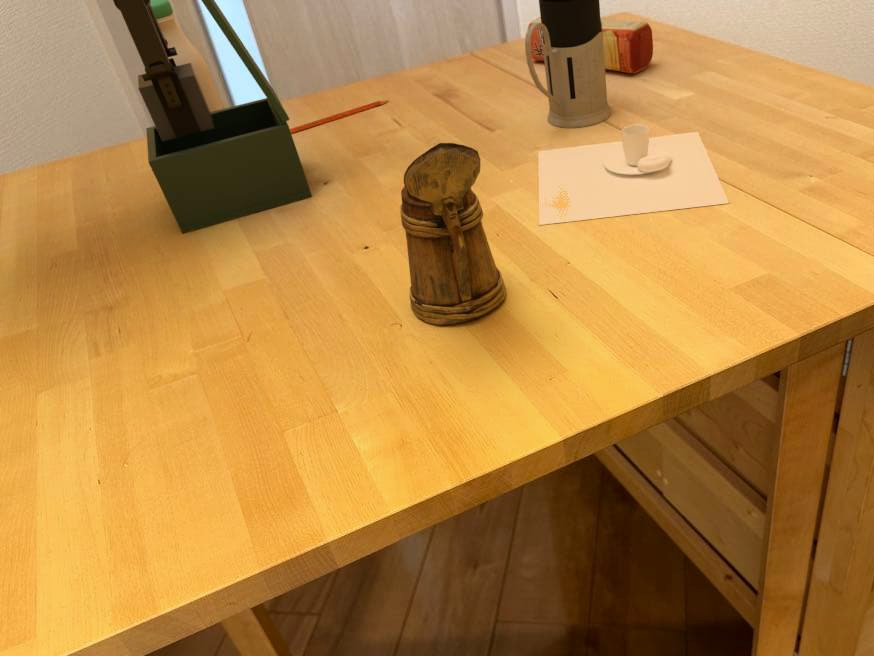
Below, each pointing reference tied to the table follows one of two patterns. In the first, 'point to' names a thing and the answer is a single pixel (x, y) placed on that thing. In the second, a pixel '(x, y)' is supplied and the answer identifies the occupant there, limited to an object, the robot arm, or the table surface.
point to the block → (192, 95)
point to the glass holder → (572, 62)
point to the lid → (245, 57)
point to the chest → (228, 167)
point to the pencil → (337, 116)
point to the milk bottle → (185, 52)
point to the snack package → (614, 44)
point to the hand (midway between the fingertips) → (186, 125)
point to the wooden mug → (448, 238)
